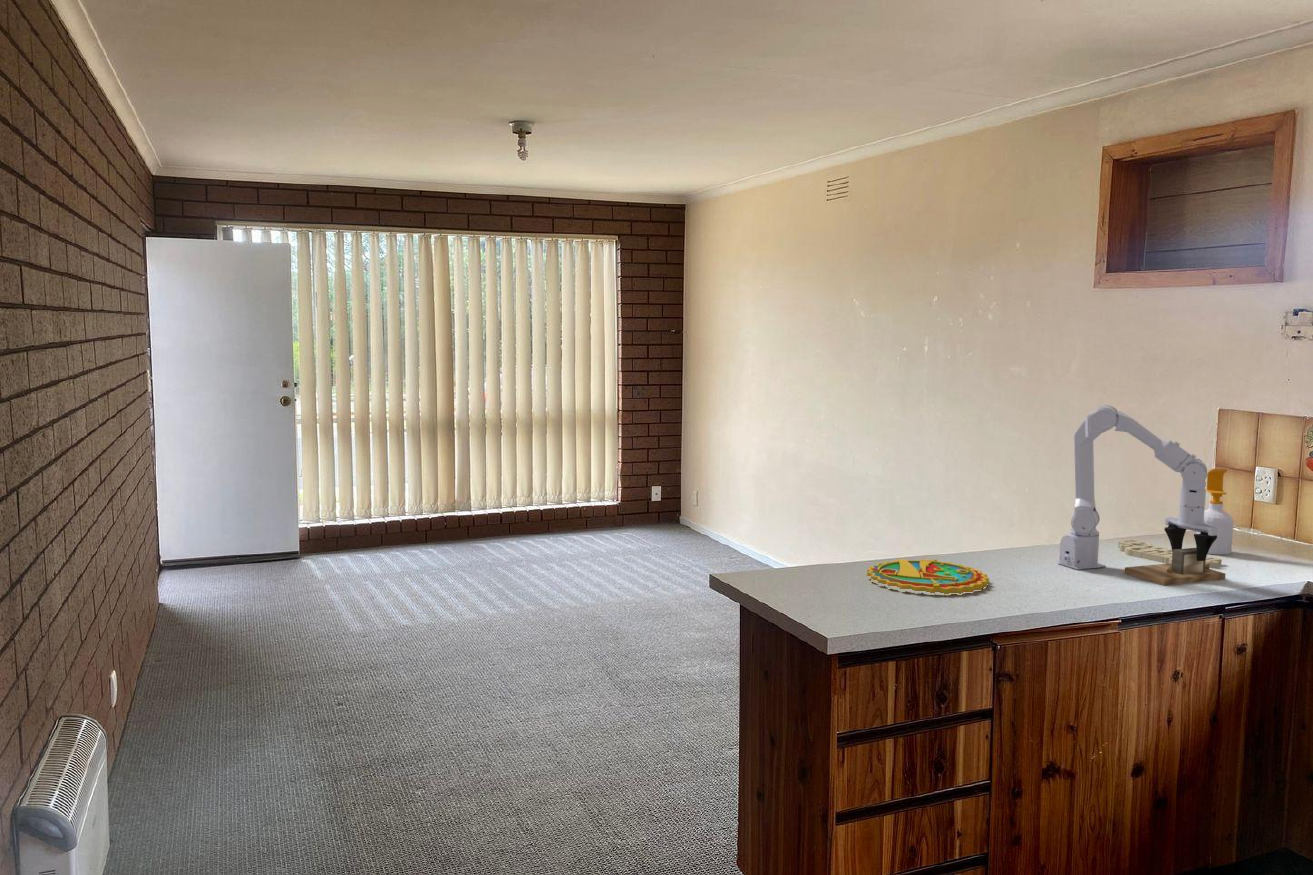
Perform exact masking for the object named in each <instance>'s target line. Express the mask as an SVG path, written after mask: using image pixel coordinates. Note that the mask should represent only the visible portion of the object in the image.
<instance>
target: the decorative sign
mask: <svg viewBox="0 0 1313 875" xmlns="http://www.w3.org/2000/svg"><path fill="white" fill-rule="evenodd" d="M1117 545H1118V549H1119V552H1123V553H1124V555H1126V556H1129V557H1134V558H1139V559H1143V560H1148V561H1152V562H1156V563H1157V562H1158V563H1160V564H1168V563H1172V548H1170V549H1169V548H1168V547H1162V546H1159V545H1154V544H1152V543H1150V542H1147V541H1143V540H1141V541H1140V540H1135V539H1129V538H1128V539H1126V538H1125V539H1123V540H1122V541H1118V544H1117ZM1222 560H1223V559H1222V558H1220V557H1219V558H1218V557H1213V556H1210V555H1209V556H1208V555H1207V556H1206V563H1209V564H1210V568H1209V569H1219V565H1220V566H1222Z"/></svg>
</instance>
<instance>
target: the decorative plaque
mask: <svg viewBox="0 0 1313 875" xmlns="http://www.w3.org/2000/svg"><path fill="white" fill-rule="evenodd" d="M867 576H871V579H873V580H877V581H878V583H882V584H887V585H888V586H897V587H899V588H900V589H912V590H914V591H926V592H930V593H935V592H940V593H944V594H949V593H959V594H961V593H963V592H973V591H974V590H982V591H983V589H982V588H984V587H987V588H988V586H987V584H990V582H989V581H990V578H989V577H988V575H987V573H984V572H983V570H979V569H975V567H971V566H965V565H964V564H957V563H953V562H947V561H946V562H945V561H939V560H938V559H929V558H928V559H927V558H922V559H918V560H916V559H915V560H914V559H905V558H897V559H896V560H893V561H887V560H885V561H884V562H878V563H877V562H876V563H875V565H870V567H869V568H867V569H866V577H867Z"/></svg>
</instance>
